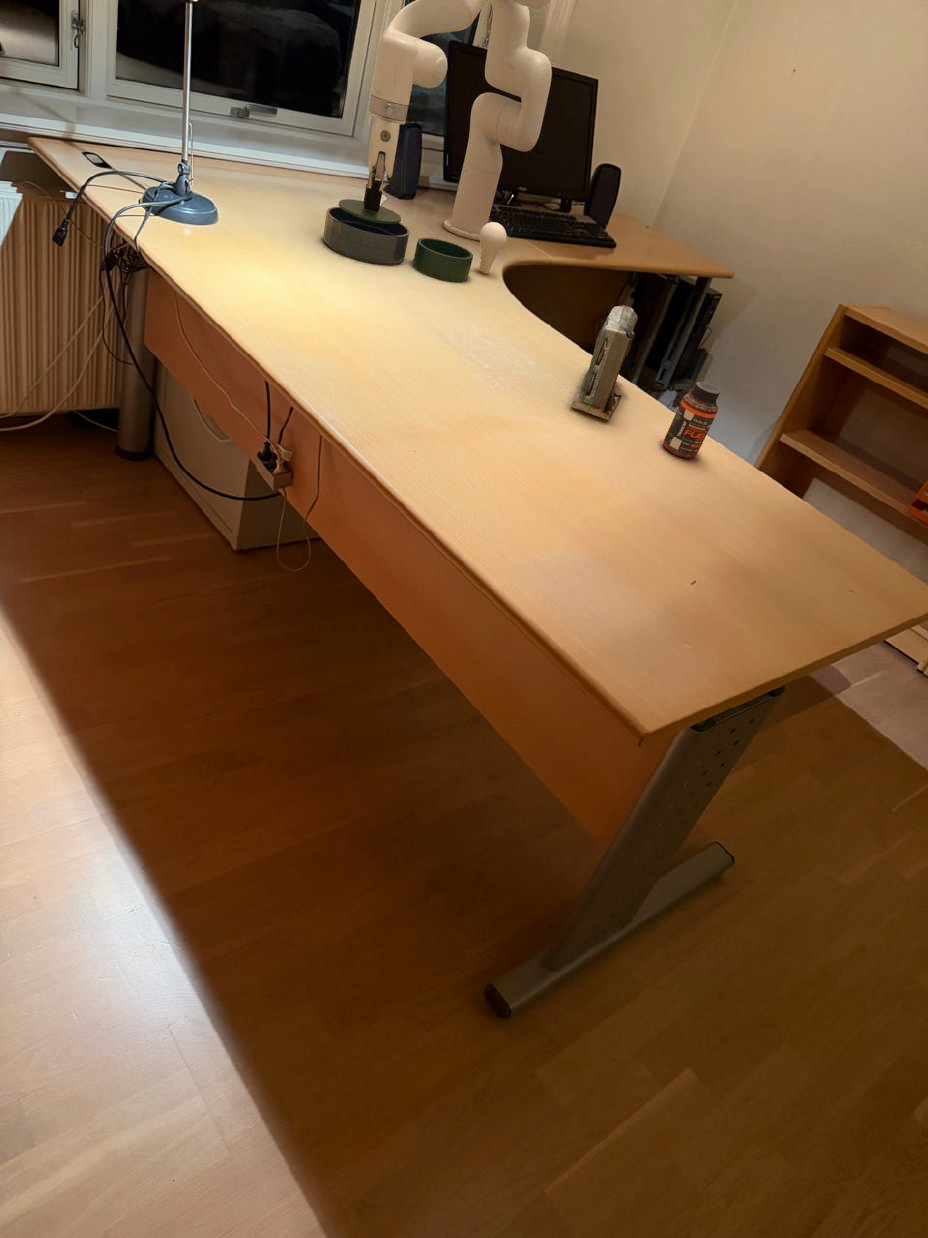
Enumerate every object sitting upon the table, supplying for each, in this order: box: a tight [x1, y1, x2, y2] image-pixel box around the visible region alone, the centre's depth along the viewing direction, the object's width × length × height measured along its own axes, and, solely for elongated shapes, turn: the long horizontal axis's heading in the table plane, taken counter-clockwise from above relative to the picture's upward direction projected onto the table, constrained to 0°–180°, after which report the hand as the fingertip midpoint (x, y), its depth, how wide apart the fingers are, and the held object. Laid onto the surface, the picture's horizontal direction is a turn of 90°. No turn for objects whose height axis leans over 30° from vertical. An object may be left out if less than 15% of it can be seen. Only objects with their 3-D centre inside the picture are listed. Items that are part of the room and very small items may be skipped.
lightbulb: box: [479, 221, 508, 274], centre depth 189 cm, size 6×6×11 cm
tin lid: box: [338, 182, 402, 224], centre depth 175 cm, size 13×13×6 cm
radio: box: [571, 304, 639, 421], centre depth 144 cm, size 23×9×15 cm, turn 158°
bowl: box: [322, 206, 411, 265], centre depth 180 cm, size 18×18×6 cm
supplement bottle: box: [662, 381, 721, 459], centre depth 134 cm, size 6×6×11 cm
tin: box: [412, 237, 474, 283], centre depth 182 cm, size 12×13×5 cm
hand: (370, 206), depth 176 cm, fingers closed on tin lid, 3 cm apart
